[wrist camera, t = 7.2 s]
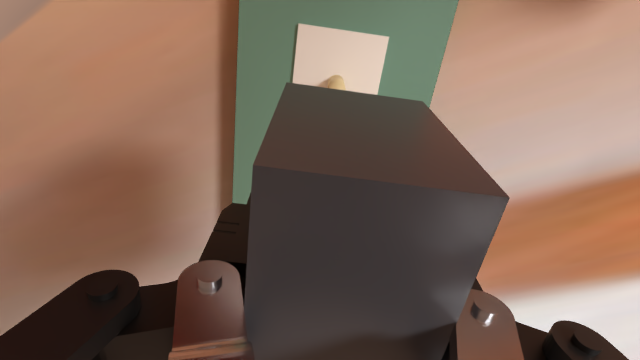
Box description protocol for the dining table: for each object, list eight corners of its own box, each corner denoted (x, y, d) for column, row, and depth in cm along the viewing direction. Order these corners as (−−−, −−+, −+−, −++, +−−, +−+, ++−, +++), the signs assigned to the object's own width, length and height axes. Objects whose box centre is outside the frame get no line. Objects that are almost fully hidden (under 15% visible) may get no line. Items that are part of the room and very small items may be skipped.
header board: (248, -92, 20) (230, -112, 16) (465, -57, 21) (496, -68, 17) (235, 219, 29) (222, 253, 25) (387, 237, 30) (396, 273, 26)
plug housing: (286, 82, 11) (252, 164, 6) (422, 101, 11) (509, 197, 6) (266, 287, 15) (235, 453, 10) (370, 299, 15) (395, 467, 10)
